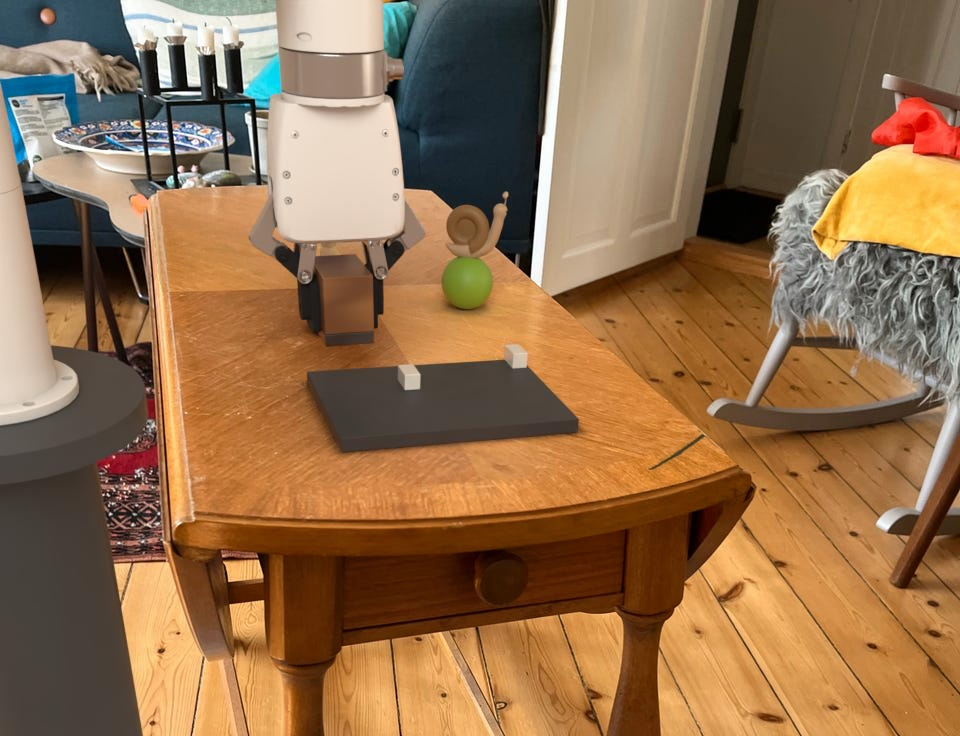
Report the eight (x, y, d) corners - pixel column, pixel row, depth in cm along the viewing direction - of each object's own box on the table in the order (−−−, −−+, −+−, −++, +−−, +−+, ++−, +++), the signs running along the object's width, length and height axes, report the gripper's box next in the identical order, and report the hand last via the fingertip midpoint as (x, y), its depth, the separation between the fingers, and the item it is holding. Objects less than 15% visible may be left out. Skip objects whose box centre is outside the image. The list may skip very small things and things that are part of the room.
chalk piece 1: (404, 390, 88) (404, 375, 87) (397, 380, 90) (397, 364, 89) (420, 389, 88) (420, 374, 87) (412, 379, 90) (413, 363, 89)
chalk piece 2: (512, 368, 94) (513, 353, 93) (503, 359, 95) (504, 344, 95) (526, 368, 94) (528, 353, 93) (517, 358, 96) (518, 343, 95)
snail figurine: (495, 319, 108) (504, 198, 101) (436, 312, 109) (440, 191, 102) (503, 304, 112) (512, 186, 105) (446, 297, 113) (451, 180, 106)
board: (341, 452, 80) (340, 438, 79) (307, 384, 91) (306, 371, 90) (577, 432, 86) (579, 419, 85) (519, 370, 97) (520, 358, 96)
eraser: (326, 347, 83) (322, 278, 80) (311, 322, 88) (308, 256, 84) (374, 343, 84) (373, 275, 81) (357, 319, 89) (356, 253, 86)
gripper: (428, 69, 80) (426, 304, 91) (208, 69, 75) (233, 317, 86) (457, 84, 74) (451, 333, 85) (221, 85, 70) (246, 349, 80)
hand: (341, 323), depth 86 cm, fingers closed on eraser, 4 cm apart
